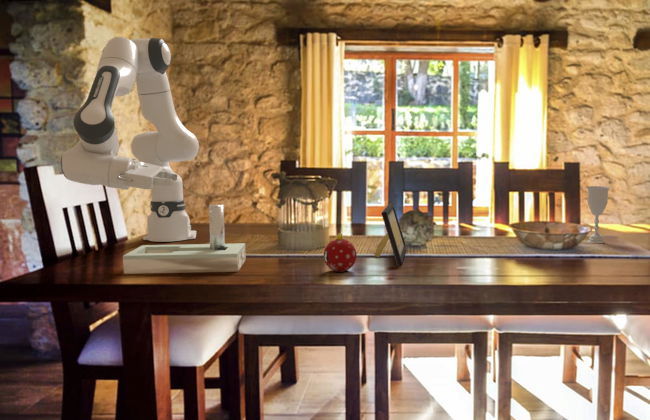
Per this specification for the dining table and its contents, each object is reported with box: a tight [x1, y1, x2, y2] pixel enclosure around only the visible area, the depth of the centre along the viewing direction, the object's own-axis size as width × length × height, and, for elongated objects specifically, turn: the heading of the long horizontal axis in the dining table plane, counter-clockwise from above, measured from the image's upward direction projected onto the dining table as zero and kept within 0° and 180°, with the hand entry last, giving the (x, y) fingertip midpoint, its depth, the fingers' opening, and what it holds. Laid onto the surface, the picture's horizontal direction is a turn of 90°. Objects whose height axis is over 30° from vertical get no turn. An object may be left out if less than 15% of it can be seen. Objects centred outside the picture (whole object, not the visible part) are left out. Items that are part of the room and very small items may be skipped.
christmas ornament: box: [323, 233, 358, 273], centre depth 144 cm, size 9×9×10 cm
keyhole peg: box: [208, 204, 226, 251], centre depth 153 cm, size 8×8×16 cm
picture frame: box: [374, 202, 407, 266], centre depth 162 cm, size 23×9×15 cm, turn 168°
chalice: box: [586, 185, 610, 244], centre depth 180 cm, size 7×7×18 cm
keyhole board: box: [122, 242, 247, 275], centre depth 154 cm, size 16×30×5 cm, turn 91°
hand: (174, 180), depth 155 cm, fingers open, 8 cm apart
